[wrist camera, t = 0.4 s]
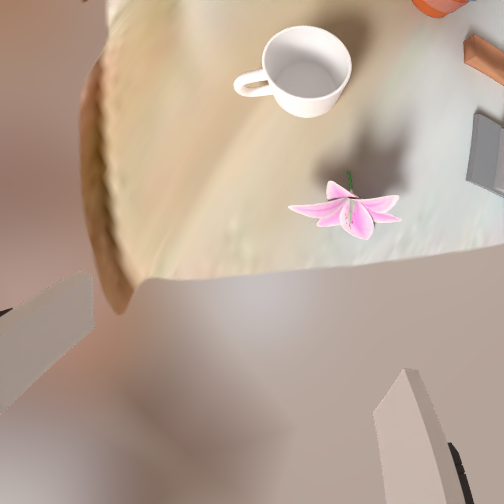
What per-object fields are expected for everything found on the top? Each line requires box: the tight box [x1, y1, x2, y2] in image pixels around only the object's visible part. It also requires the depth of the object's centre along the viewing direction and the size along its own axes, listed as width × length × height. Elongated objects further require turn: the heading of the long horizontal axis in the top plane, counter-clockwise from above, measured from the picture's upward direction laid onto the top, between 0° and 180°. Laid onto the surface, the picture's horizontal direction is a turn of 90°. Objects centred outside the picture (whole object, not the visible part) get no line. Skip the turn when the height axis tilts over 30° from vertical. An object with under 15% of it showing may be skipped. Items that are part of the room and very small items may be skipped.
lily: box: [288, 171, 402, 240], centre depth 31 cm, size 12×12×10 cm
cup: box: [234, 25, 352, 118], centre depth 27 cm, size 8×12×10 cm
